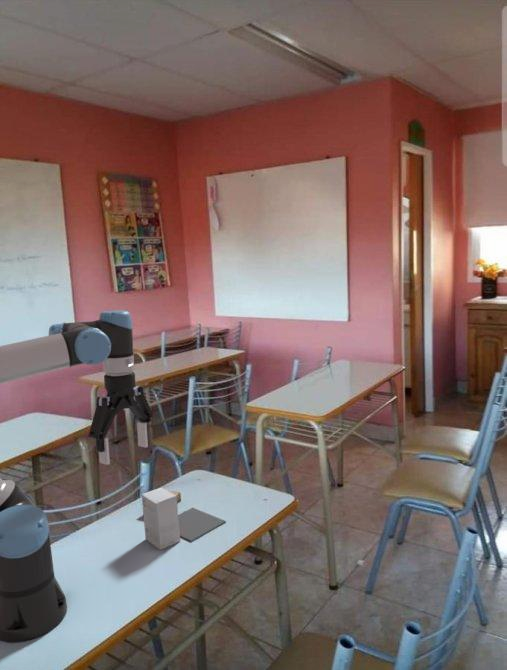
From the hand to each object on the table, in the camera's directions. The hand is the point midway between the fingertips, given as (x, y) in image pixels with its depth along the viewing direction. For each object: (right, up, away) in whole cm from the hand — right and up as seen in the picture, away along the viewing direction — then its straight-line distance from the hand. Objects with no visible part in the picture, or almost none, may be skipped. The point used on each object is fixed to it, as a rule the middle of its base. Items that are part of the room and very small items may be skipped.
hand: (124, 454), depth 140 cm
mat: (+15, -23, +16) cm, 32 cm away
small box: (+8, -25, +8) cm, 28 cm away
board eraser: (+5, -22, +27) cm, 35 cm away
